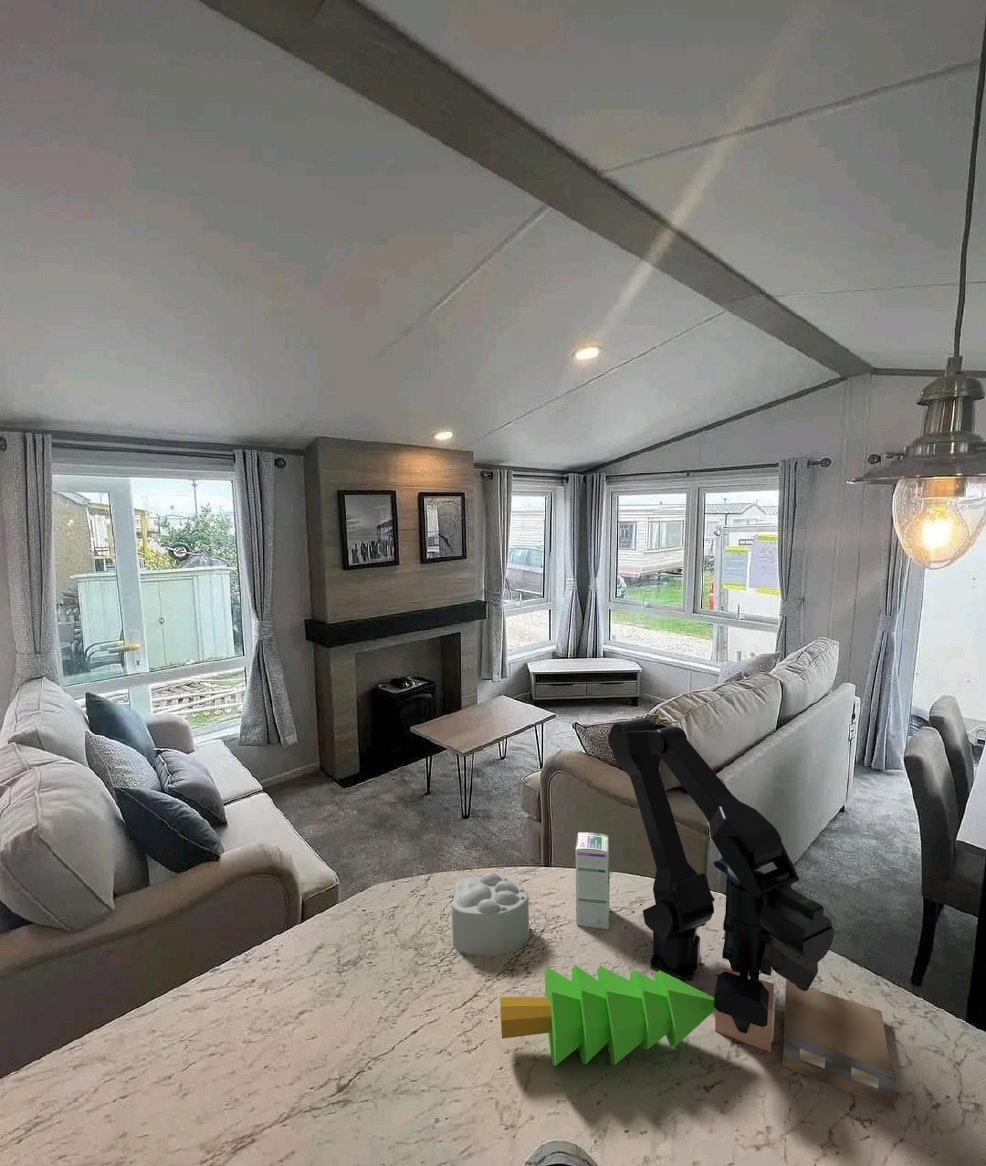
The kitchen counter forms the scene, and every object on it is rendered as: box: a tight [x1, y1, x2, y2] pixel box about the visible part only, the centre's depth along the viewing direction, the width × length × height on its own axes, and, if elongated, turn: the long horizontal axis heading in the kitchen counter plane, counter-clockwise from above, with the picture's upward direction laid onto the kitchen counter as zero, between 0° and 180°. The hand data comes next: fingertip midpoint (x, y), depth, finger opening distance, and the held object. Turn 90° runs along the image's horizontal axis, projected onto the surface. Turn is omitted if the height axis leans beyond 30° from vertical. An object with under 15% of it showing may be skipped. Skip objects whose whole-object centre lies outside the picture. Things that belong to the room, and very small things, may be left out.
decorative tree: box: [499, 965, 716, 1067], centre depth 77 cm, size 11×12×30 cm
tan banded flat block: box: [782, 979, 898, 1110], centre depth 77 cm, size 12×14×4 cm
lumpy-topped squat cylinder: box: [451, 871, 530, 956], centre depth 99 cm, size 10×13×9 cm
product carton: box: [714, 966, 776, 1053], centre depth 80 cm, size 7×5×6 cm
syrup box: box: [575, 831, 611, 930], centre depth 102 cm, size 6×6×14 cm
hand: (744, 1016), depth 80 cm, fingers closed on product carton, 5 cm apart
